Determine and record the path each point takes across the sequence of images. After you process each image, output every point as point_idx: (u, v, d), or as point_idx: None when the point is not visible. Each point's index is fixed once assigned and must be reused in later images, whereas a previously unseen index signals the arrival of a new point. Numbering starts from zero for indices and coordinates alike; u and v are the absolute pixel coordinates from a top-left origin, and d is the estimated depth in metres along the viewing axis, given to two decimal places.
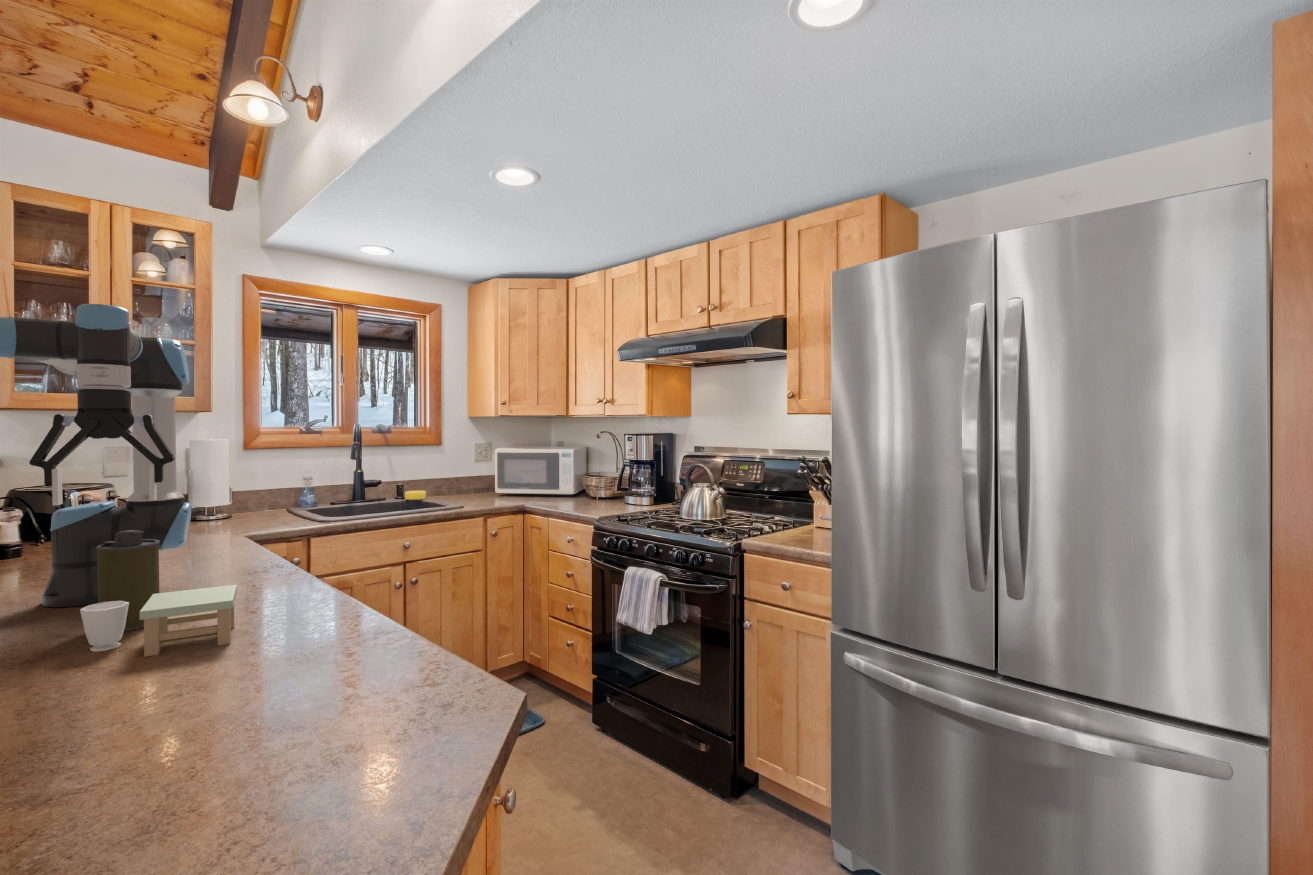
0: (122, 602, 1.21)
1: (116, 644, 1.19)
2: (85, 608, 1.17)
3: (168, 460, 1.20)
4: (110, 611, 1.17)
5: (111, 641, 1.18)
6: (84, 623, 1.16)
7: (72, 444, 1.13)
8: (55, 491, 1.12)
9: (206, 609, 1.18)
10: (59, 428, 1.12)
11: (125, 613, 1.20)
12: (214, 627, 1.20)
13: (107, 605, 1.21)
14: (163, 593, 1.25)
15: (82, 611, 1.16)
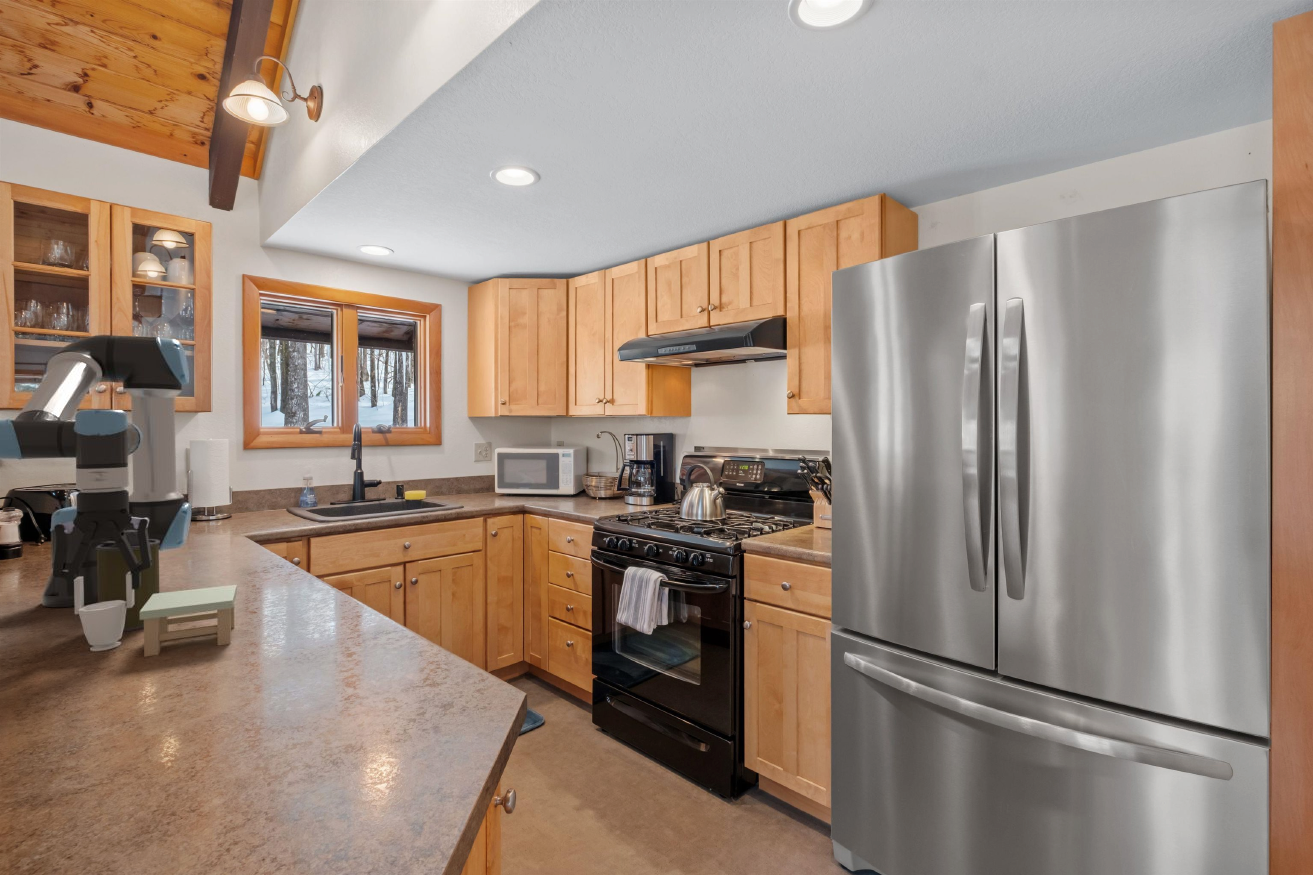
0: (120, 601, 1.21)
1: (116, 643, 1.19)
2: (83, 608, 1.17)
3: (145, 566, 1.22)
4: (108, 611, 1.17)
5: (111, 640, 1.18)
6: (83, 623, 1.16)
7: (82, 550, 1.17)
8: (77, 600, 1.17)
9: (206, 609, 1.18)
10: (64, 536, 1.16)
11: (124, 612, 1.20)
12: (214, 627, 1.20)
13: (105, 605, 1.21)
14: (163, 593, 1.25)
15: (80, 611, 1.16)
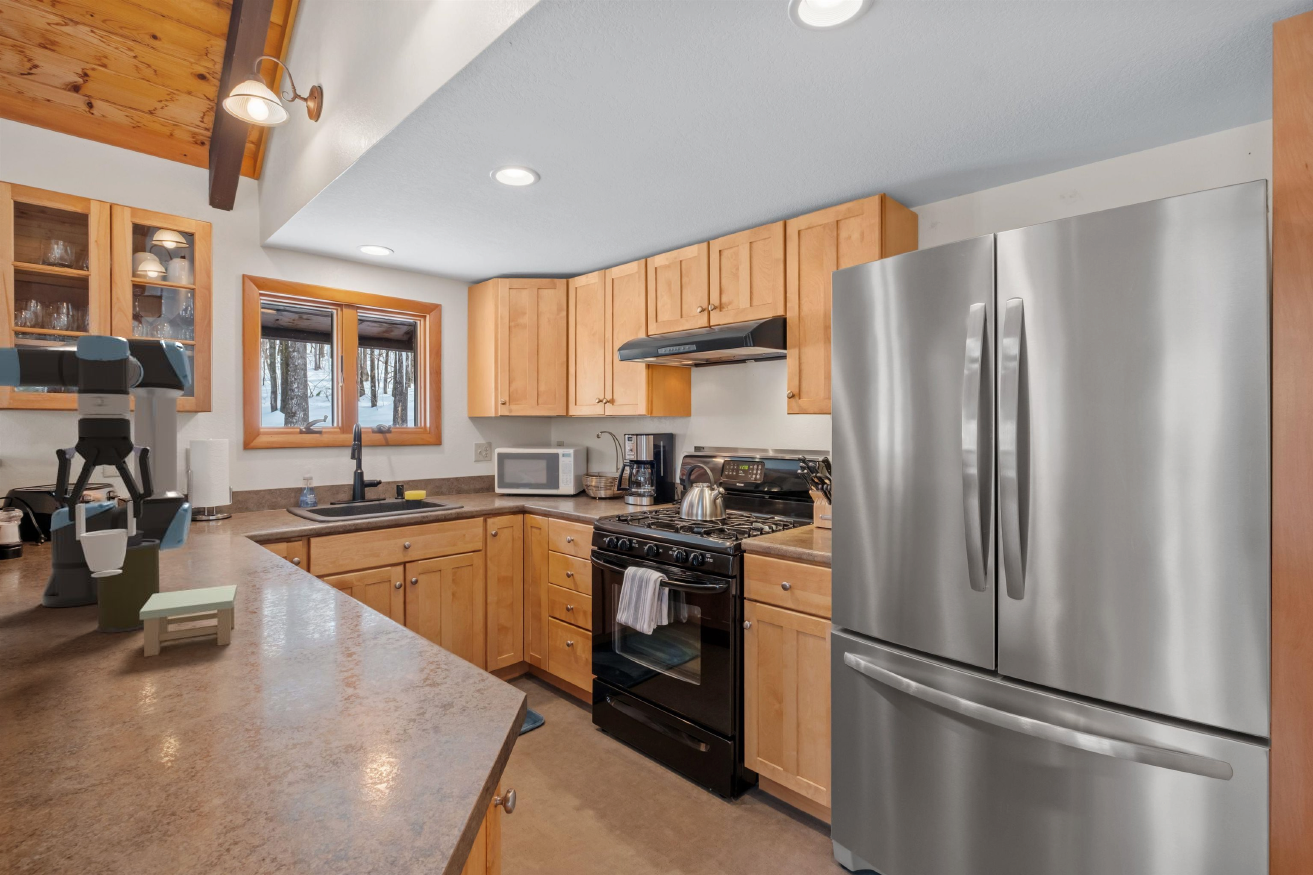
0: (122, 530, 1.21)
1: (117, 571, 1.19)
2: (84, 535, 1.17)
3: (146, 495, 1.21)
4: (109, 537, 1.16)
5: (112, 567, 1.17)
6: (84, 549, 1.16)
7: (84, 476, 1.17)
8: (79, 526, 1.16)
9: (206, 609, 1.18)
10: (66, 461, 1.15)
11: (125, 540, 1.20)
12: (214, 627, 1.20)
13: (107, 533, 1.21)
14: (163, 593, 1.25)
15: (81, 536, 1.15)
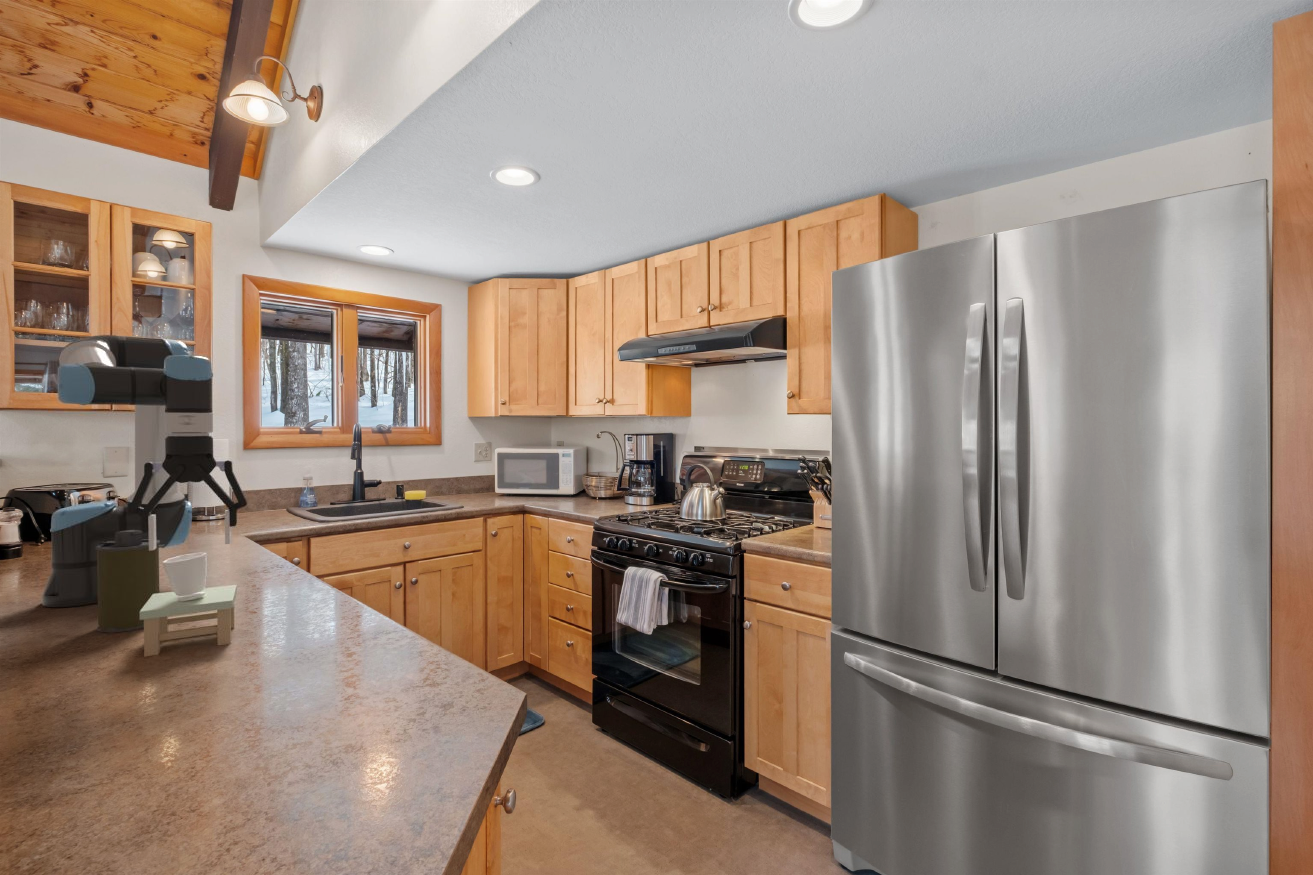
0: (200, 553, 1.24)
1: (201, 593, 1.22)
2: (166, 561, 1.20)
3: (242, 505, 1.26)
4: (192, 561, 1.19)
5: (197, 590, 1.20)
6: (168, 575, 1.19)
7: (163, 490, 1.19)
8: (151, 537, 1.18)
9: (206, 609, 1.18)
10: (150, 475, 1.18)
11: (205, 563, 1.22)
12: (214, 627, 1.20)
13: (186, 558, 1.23)
14: (163, 593, 1.25)
15: (165, 563, 1.18)
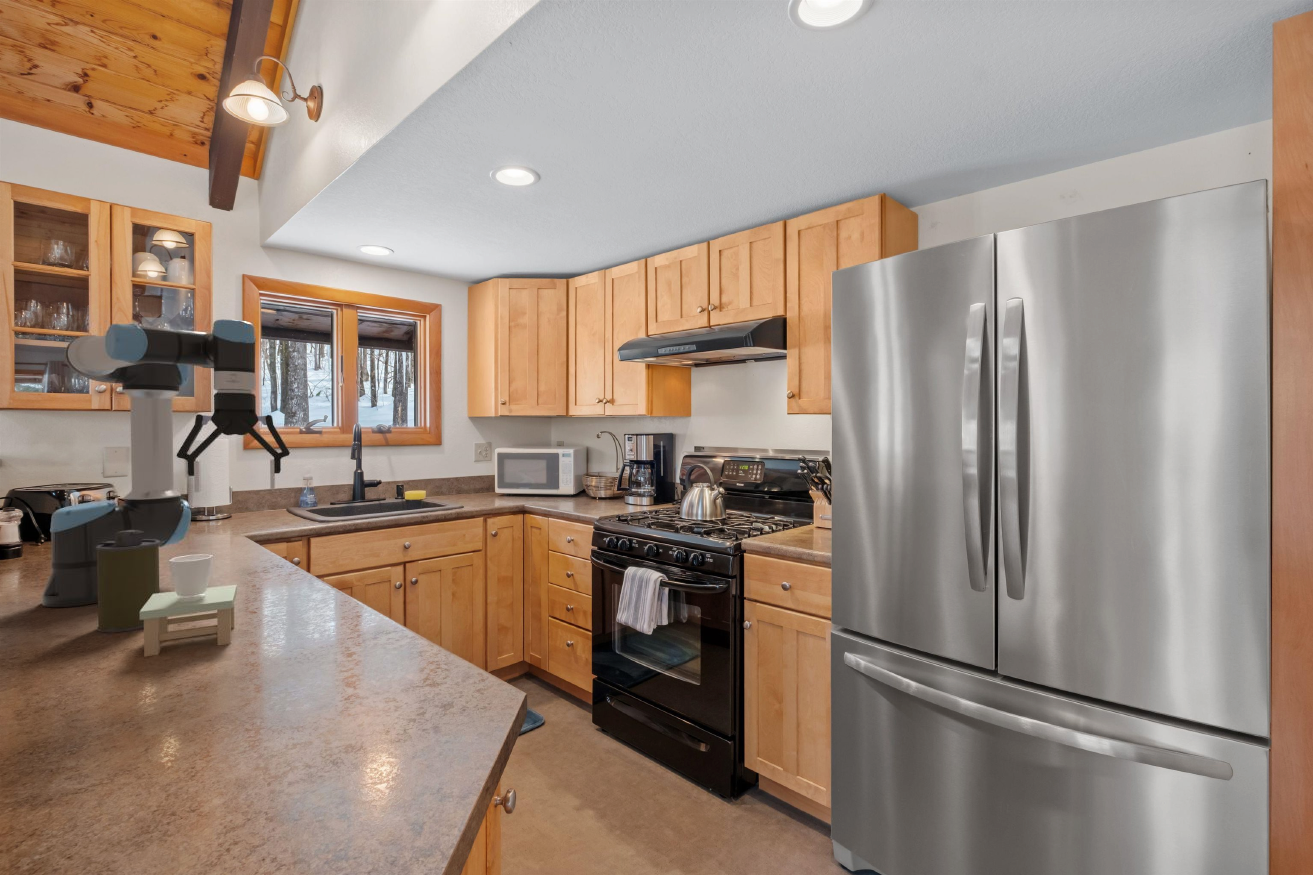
0: (206, 555, 1.24)
1: (201, 596, 1.22)
2: (172, 560, 1.20)
3: (285, 454, 1.39)
4: (198, 563, 1.19)
5: (198, 592, 1.20)
6: (172, 574, 1.19)
7: (210, 440, 1.32)
8: (196, 480, 1.31)
9: (206, 609, 1.18)
10: (200, 426, 1.31)
11: (210, 565, 1.23)
12: (214, 627, 1.20)
13: (191, 558, 1.24)
14: (163, 593, 1.25)
15: (171, 562, 1.18)
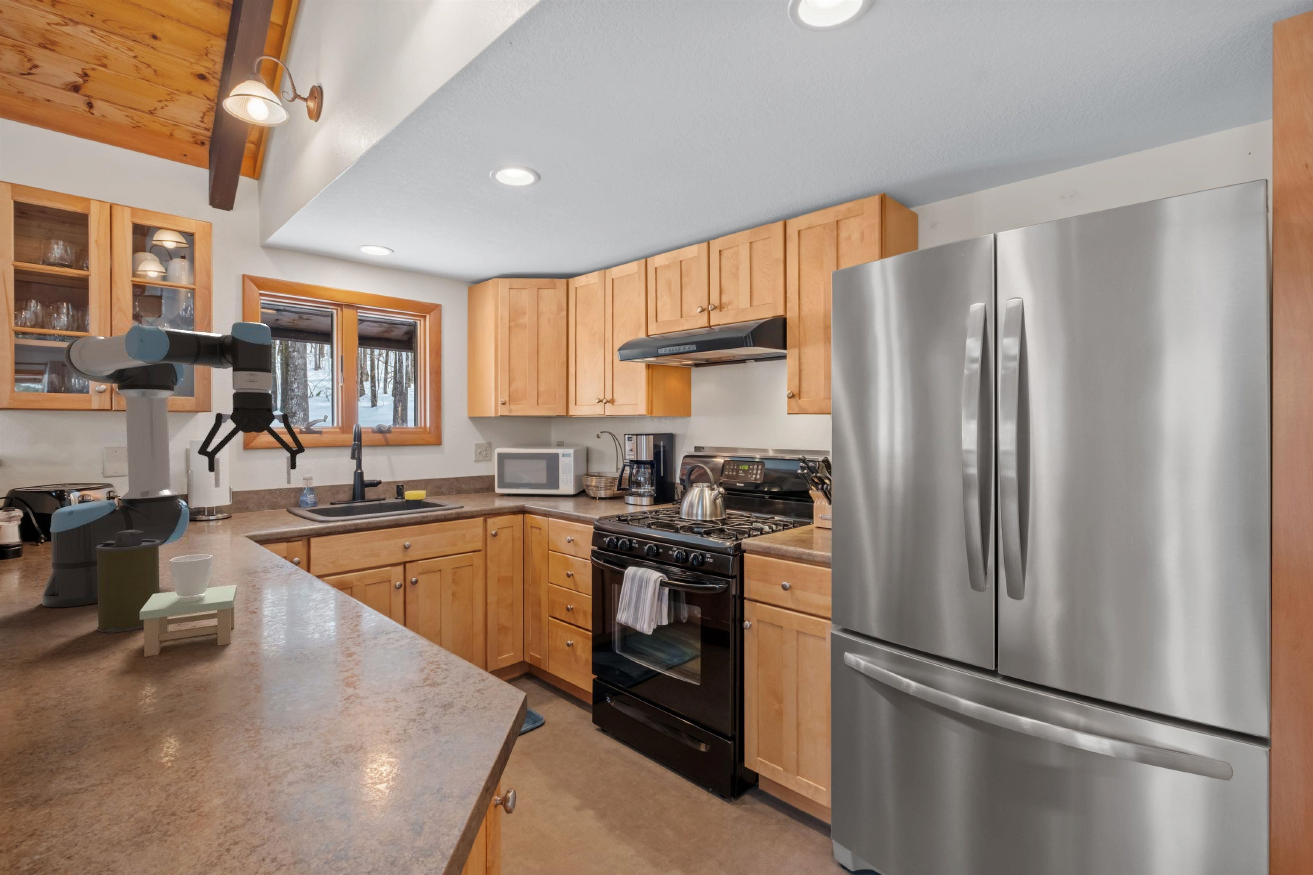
0: (206, 555, 1.24)
1: (201, 596, 1.22)
2: (172, 560, 1.20)
3: (301, 451, 1.45)
4: (198, 563, 1.19)
5: (198, 592, 1.20)
6: (172, 574, 1.19)
7: (229, 437, 1.38)
8: (216, 476, 1.36)
9: (206, 609, 1.18)
10: (219, 424, 1.37)
11: (210, 565, 1.23)
12: (214, 627, 1.20)
13: (191, 558, 1.24)
14: (163, 593, 1.25)
15: (171, 562, 1.18)
